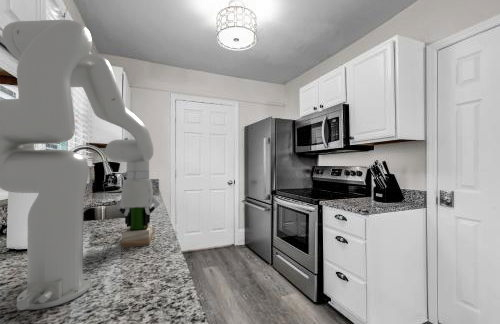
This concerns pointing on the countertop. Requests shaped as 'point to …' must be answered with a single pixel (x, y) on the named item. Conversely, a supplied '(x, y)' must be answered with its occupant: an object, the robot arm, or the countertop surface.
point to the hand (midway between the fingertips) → (137, 225)
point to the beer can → (137, 219)
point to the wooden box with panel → (137, 237)
